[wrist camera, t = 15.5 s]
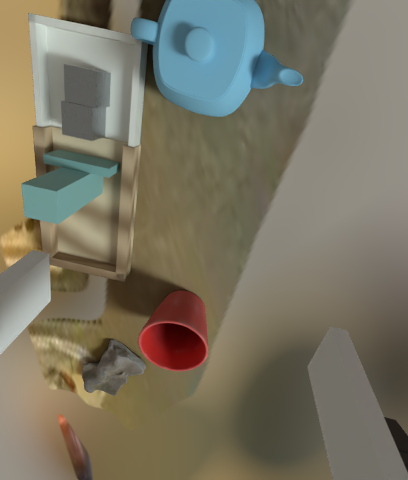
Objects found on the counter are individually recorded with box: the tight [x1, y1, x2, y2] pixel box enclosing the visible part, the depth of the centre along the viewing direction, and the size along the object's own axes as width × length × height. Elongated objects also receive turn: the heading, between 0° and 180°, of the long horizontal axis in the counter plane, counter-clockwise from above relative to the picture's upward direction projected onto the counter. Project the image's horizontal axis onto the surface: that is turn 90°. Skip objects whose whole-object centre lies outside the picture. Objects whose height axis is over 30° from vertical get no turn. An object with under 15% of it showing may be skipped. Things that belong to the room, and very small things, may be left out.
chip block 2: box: [61, 101, 106, 141], centre depth 39 cm, size 4×4×4 cm
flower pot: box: [138, 290, 208, 371], centre depth 50 cm, size 11×11×10 cm
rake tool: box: [22, 149, 121, 224], centre depth 38 cm, size 5×9×12 cm, turn 79°
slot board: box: [33, 126, 141, 282], centre depth 46 cm, size 22×14×3 cm, turn 169°
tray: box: [28, 13, 148, 147], centre depth 38 cm, size 12×14×2 cm
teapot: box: [131, 0, 303, 117], centre depth 31 cm, size 13×11×18 cm
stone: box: [82, 340, 146, 396], centre depth 62 cm, size 15×10×4 cm, turn 138°
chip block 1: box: [64, 64, 111, 108], centre depth 37 cm, size 4×4×4 cm
